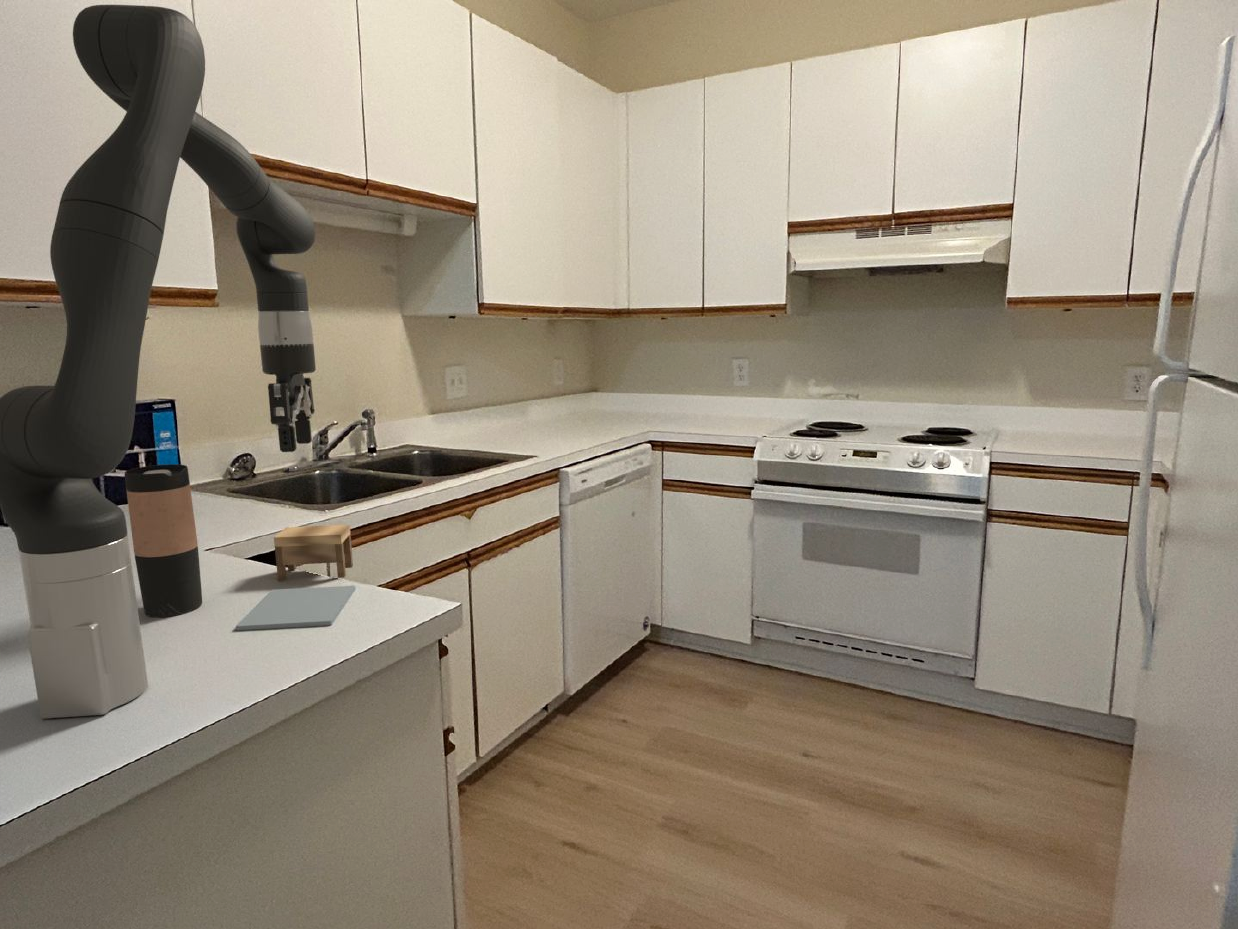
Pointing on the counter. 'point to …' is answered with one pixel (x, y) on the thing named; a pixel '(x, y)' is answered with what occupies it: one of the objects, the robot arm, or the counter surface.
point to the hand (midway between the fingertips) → (296, 447)
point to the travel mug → (164, 539)
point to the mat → (297, 608)
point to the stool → (313, 548)
